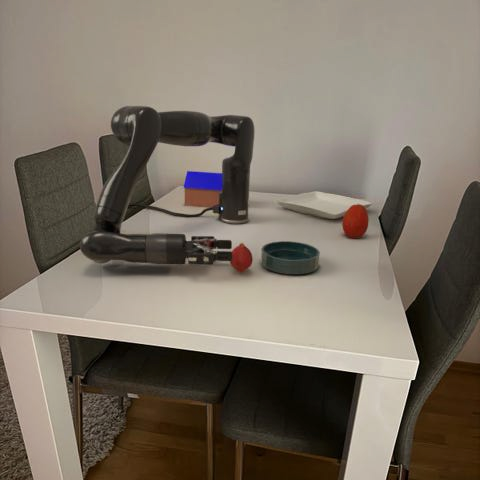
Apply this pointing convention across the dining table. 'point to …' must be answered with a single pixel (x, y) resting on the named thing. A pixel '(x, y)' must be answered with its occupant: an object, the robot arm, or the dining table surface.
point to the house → (202, 188)
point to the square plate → (321, 204)
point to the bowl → (290, 257)
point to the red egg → (355, 221)
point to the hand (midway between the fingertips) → (231, 250)
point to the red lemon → (241, 258)
